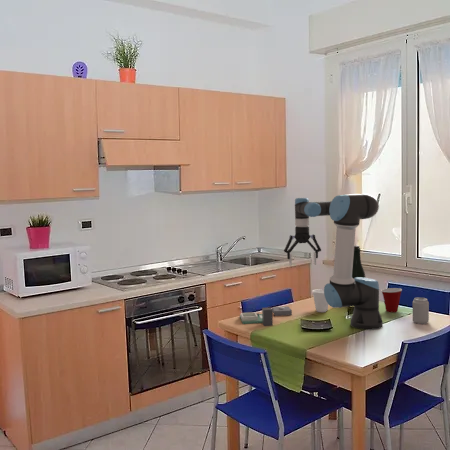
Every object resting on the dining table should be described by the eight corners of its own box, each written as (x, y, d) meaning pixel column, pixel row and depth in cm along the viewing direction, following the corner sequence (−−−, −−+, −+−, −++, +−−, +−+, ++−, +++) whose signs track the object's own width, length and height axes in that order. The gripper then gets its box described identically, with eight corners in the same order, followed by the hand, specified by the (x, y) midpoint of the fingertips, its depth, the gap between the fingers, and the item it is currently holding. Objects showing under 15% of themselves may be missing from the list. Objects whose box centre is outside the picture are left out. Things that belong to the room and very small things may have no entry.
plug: (272, 325, 268) (272, 309, 267) (263, 325, 267) (263, 310, 267) (270, 322, 273) (270, 307, 272) (262, 323, 272) (262, 307, 271)
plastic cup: (385, 307, 297) (385, 286, 296) (405, 310, 290) (405, 288, 289) (377, 311, 288) (377, 289, 287) (397, 314, 281) (397, 292, 280)
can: (429, 321, 268) (429, 297, 267) (427, 325, 261) (428, 300, 260) (413, 319, 271) (413, 296, 270) (411, 323, 265) (411, 299, 263)
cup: (330, 313, 287) (330, 293, 286) (311, 313, 289) (311, 292, 288) (331, 309, 297) (330, 289, 296) (312, 308, 299) (312, 288, 298)
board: (266, 322, 273) (266, 316, 272) (242, 323, 272) (242, 318, 271) (262, 315, 287) (262, 310, 286) (239, 316, 286) (239, 311, 285)
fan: (291, 315, 286) (291, 309, 286) (274, 315, 286) (274, 310, 285) (288, 310, 295) (288, 305, 295) (272, 311, 294) (272, 306, 294)
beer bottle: (368, 301, 311) (368, 244, 308) (363, 305, 302) (363, 247, 299) (350, 300, 316) (349, 244, 313) (345, 304, 307) (344, 246, 304)
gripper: (323, 224, 300) (323, 262, 302) (278, 226, 299) (279, 264, 301) (326, 226, 293) (326, 264, 294) (280, 227, 291) (281, 266, 293)
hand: (302, 264), depth 298 cm, fingers open, 13 cm apart
